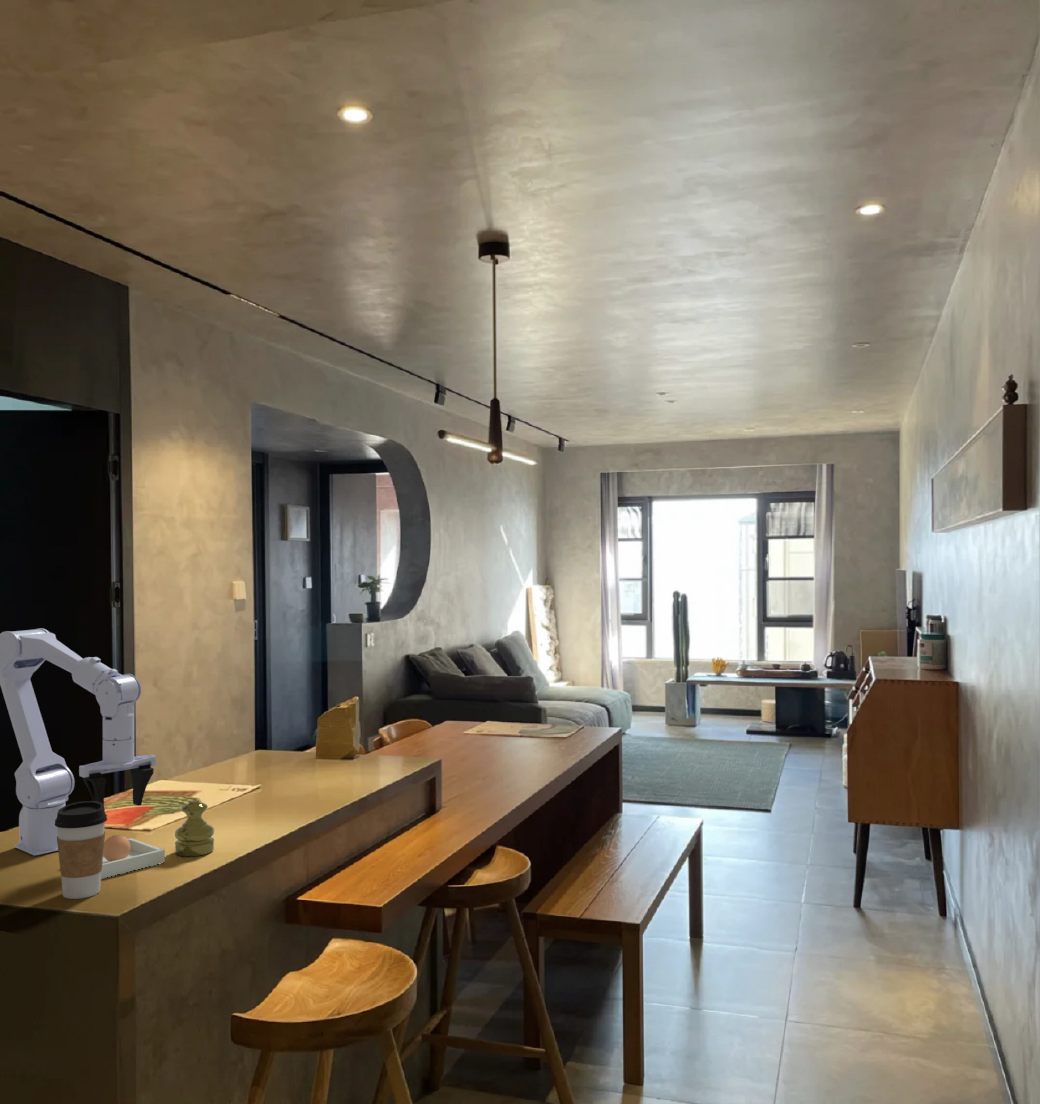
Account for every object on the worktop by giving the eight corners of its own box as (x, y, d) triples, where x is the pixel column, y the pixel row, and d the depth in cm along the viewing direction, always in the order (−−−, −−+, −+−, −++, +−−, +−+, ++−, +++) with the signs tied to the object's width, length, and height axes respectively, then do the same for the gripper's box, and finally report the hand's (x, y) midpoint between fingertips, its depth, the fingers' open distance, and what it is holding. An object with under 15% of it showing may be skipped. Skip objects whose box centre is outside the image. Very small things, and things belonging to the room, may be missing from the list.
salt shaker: (172, 858, 195) (172, 806, 195) (177, 847, 202) (177, 797, 202) (212, 856, 196) (211, 804, 197) (216, 845, 204) (215, 795, 204)
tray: (68, 865, 191) (68, 852, 191) (131, 850, 200) (131, 838, 200) (100, 879, 183) (100, 865, 183) (164, 863, 192) (164, 849, 192)
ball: (98, 862, 192) (96, 836, 191) (124, 854, 195) (122, 829, 195) (110, 868, 188) (108, 842, 188) (135, 860, 192) (134, 834, 191)
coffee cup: (115, 884, 180) (114, 800, 180) (96, 901, 171) (96, 812, 171) (67, 885, 179) (66, 801, 179) (46, 902, 171) (45, 813, 171)
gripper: (91, 746, 188) (91, 819, 188) (163, 735, 199) (163, 804, 199) (74, 741, 193) (74, 812, 193) (146, 731, 203) (146, 798, 203)
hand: (118, 808), depth 196 cm, fingers open, 7 cm apart
